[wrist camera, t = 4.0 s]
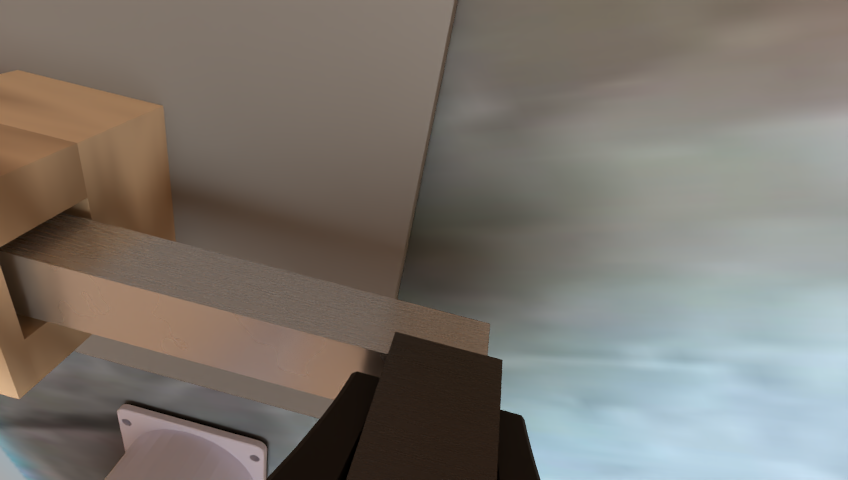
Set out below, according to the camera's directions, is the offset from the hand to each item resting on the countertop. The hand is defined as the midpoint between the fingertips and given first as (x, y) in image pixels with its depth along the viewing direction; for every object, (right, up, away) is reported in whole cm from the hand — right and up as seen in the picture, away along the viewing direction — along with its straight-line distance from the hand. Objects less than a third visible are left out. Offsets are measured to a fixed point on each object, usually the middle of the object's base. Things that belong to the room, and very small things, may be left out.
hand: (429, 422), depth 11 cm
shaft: (-6, +3, +3) cm, 7 cm away
